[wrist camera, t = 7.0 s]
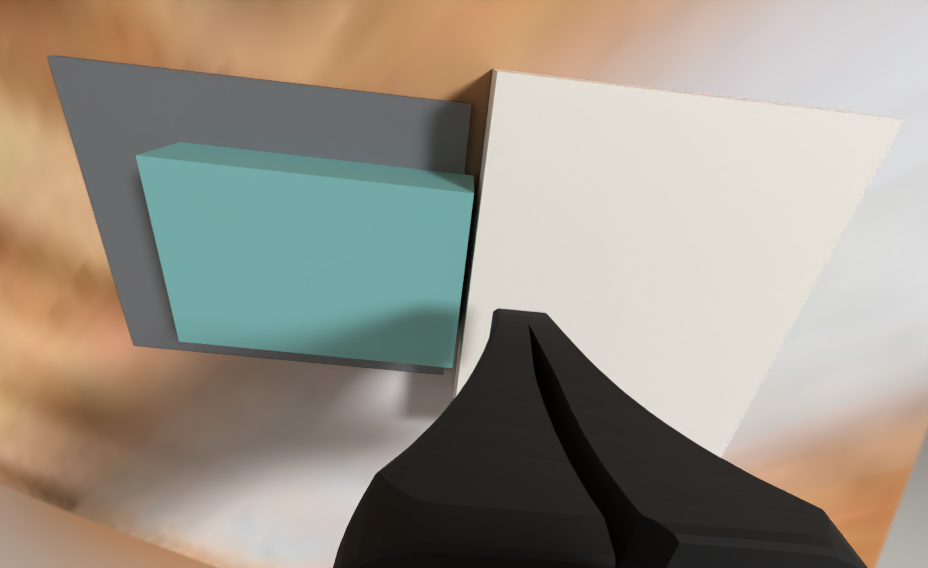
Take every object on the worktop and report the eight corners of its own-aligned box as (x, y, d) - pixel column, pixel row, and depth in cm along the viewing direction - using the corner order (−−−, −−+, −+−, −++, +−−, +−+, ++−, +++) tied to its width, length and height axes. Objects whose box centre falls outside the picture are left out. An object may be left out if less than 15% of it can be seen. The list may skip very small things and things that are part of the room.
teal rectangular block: (454, 334, 16) (452, 368, 15) (211, 309, 16) (179, 341, 14) (473, 175, 14) (473, 193, 12) (180, 141, 13) (135, 155, 12)
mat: (443, 370, 18) (442, 374, 17) (138, 341, 17) (133, 345, 17) (471, 103, 13) (471, 104, 13) (56, 55, 13) (47, 55, 12)
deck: (689, 412, 18) (719, 460, 16) (453, 390, 18) (450, 437, 16) (830, 108, 13) (904, 119, 11) (492, 68, 13) (497, 71, 10)
